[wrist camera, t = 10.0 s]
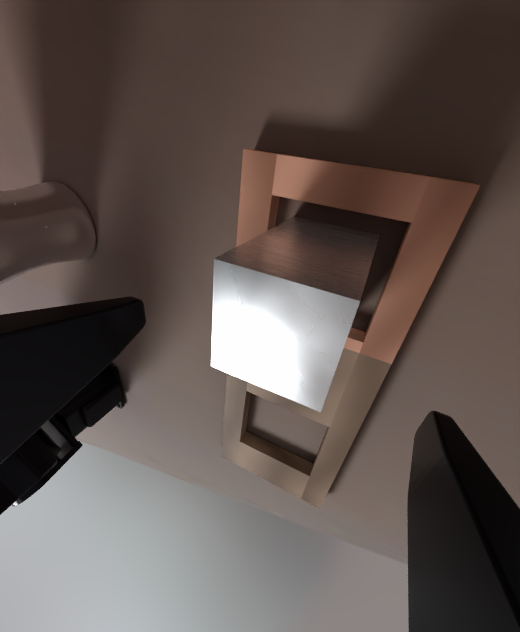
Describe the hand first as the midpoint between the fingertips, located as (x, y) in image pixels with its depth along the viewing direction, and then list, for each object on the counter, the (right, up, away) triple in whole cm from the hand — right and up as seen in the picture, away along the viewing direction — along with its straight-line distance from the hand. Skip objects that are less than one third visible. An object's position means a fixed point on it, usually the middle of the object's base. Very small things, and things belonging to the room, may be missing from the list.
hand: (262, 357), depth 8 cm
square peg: (+4, +4, +7) cm, 9 cm away
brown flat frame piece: (+3, -3, +12) cm, 12 cm away
